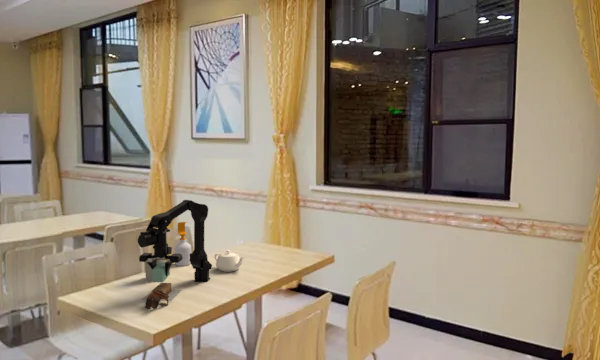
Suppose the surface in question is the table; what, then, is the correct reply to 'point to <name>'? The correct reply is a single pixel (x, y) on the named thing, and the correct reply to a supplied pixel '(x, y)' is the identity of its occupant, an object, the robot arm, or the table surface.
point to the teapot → (228, 261)
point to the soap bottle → (183, 246)
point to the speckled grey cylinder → (150, 270)
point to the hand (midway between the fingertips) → (161, 275)
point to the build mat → (171, 295)
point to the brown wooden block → (161, 289)
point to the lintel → (159, 272)
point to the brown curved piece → (155, 299)
